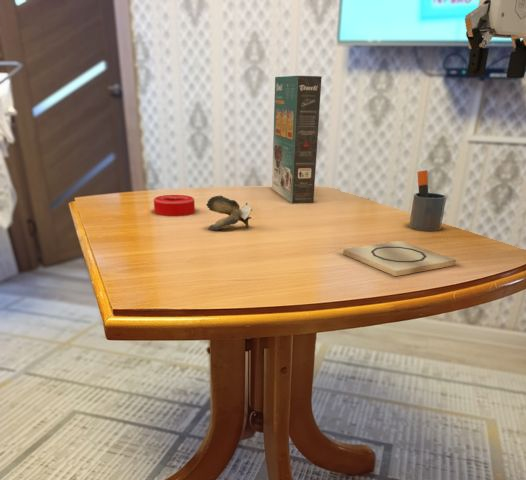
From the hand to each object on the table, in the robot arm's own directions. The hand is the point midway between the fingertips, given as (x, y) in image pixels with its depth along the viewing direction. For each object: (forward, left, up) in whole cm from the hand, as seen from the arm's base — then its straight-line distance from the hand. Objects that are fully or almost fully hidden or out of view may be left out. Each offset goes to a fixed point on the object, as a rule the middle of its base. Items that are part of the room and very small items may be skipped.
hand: (495, 77), depth 86 cm
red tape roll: (+39, -54, -30) cm, 73 cm away
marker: (-6, -16, -29) cm, 33 cm away
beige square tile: (+17, 0, -30) cm, 34 cm away
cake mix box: (+1, -61, -30) cm, 68 cm away
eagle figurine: (+34, -34, -30) cm, 56 cm away
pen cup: (-6, -16, -30) cm, 34 cm away
